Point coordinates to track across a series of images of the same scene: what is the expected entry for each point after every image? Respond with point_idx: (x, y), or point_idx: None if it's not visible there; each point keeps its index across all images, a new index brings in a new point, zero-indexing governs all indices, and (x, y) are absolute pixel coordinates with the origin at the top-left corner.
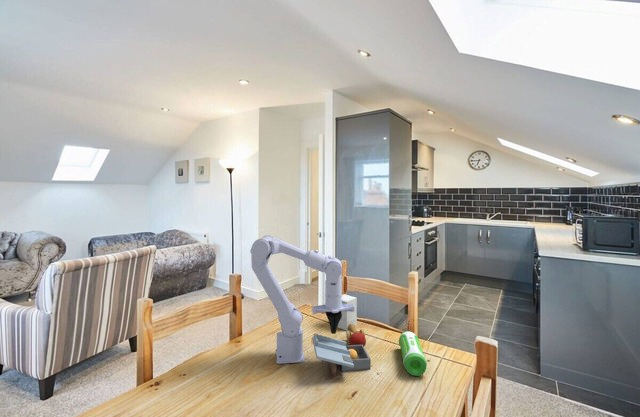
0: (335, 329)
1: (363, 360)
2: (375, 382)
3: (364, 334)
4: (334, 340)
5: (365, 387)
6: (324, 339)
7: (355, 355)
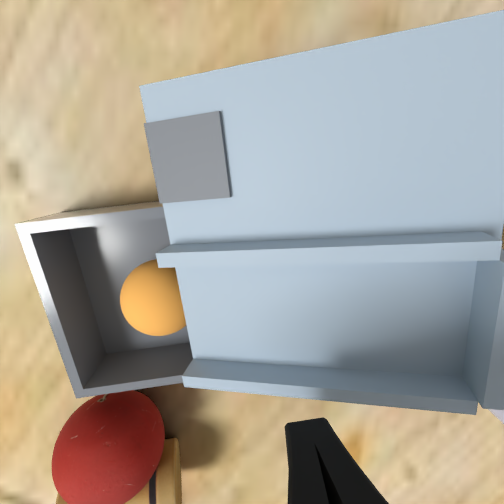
0: (301, 465)
1: (73, 216)
2: (30, 75)
3: (57, 500)
4: (281, 378)
5: (96, 22)
6: (368, 375)
7: (131, 276)
